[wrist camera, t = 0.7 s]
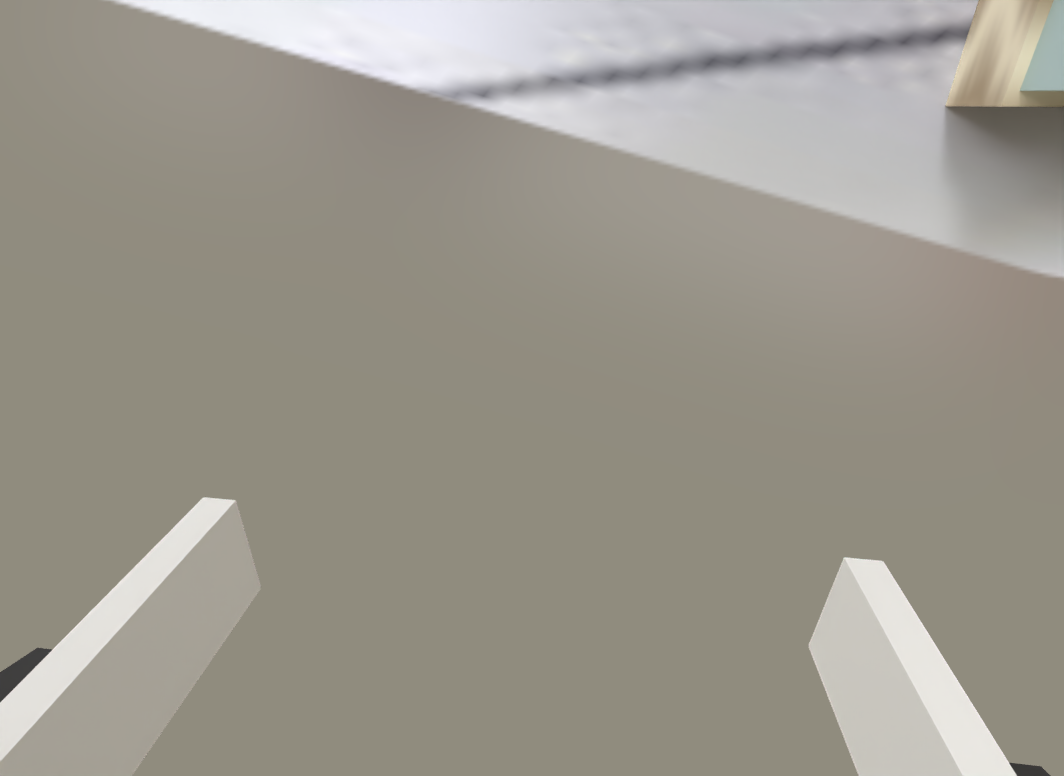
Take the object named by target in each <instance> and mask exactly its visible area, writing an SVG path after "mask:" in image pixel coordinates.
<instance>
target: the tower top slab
mask: <svg viewBox="0 0 1064 776" xmlns="http://www.w3.org/2000/svg"><path fill="white" fill-rule="evenodd" d="M1020 91H1064V0H1054V1H1053V3H1052V6H1051V9H1050V11H1049V14H1048V17H1047V19H1046V22H1045V25H1044V27H1043V30H1042V33H1041V35H1040V38H1039V41H1038V43H1037V46H1036V49H1035V51H1034V54H1033V57H1032V59H1031V62H1030V65H1029V67H1028V70H1027V73H1026V75H1025V78H1024V81H1023V83H1022V86H1021V89H1020Z"/></svg>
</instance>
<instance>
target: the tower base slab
mask: <svg viewBox="0 0 1064 776" xmlns="http://www.w3.org/2000/svg"><path fill="white" fill-rule="evenodd" d="M1053 1H1054V0H979V1H978V5H977V8H976V11H975V14H974V17H973V20H972V23H971V27H970V30H969V33H968V36H967V39H966V42H965V46H964V49H963V52H962V55H961V58H960V61H959V65H958V68H957V71H956V74H955V77H954V80H953V83H952V87H951V90H950V93H949V96H948V99H947V102H946V106H980V107H1064V91H1020V89H1021V86H1022V83H1023V81H1024V78H1025V75H1026V73H1027V70H1028V67H1029V65H1030V62H1031V59H1032V57H1033V54H1034V51H1035V49H1036V46H1037V43H1038V41H1039V38H1040V35H1041V33H1042V30H1043V27H1044V25H1045V22H1046V19H1047V17H1048V14H1049V11H1050V9H1051V6H1052V3H1053Z"/></svg>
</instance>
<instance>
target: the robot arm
mask: <svg viewBox="0 0 1064 776" xmlns="http://www.w3.org/2000/svg"><path fill="white" fill-rule="evenodd" d="M260 589H261V585H260V582H259V579H258V575H257V572H256V568H255V564H254V561H253V558H252V554H251V551H250V547H249V544H248V540H247V537H246V534H245V530H244V527H243V523H242V520H241V516H240V513H239V509H238V506H237V503H236V500H227V499H226V500H225V499H216V498H205V497H204V498H202V499H201V500H200V501H199V502H198V503H197V504H196V506H194V507H193V508H192V509H191V511H190V512H189V513H188V514H187V515H186V516H185V517H184V518H183V519H182V520H181V521H180V522H179V523H178V524H177V525H176V526H175V527H174V528H173V529H172V530H171V531H170V532H169V533H168V534H167V535H166V536H165V537H164V538H163V539H162V540H161V541H160V542H159V543H158V544H157V545H156V546H155V547H154V548H153V549H152V550H151V551H150V552H149V553H148V554H147V555H146V556H145V557H144V558H143V559H142V560H141V561H140V562H139V563H138V564H137V565H136V566H135V567H134V568H133V569H132V570H131V571H130V572H129V573H128V574H127V575H126V576H125V577H124V578H123V579H122V580H121V581H120V582H119V583H118V584H117V585H116V586H115V587H114V588H113V589H112V590H111V591H110V592H109V593H108V595H106V596H105V597H104V598H103V599H102V600H101V601H100V602H99V603H98V605H96V607H94V609H92V610H91V612H90V613H89V614H88V615H87V616H86V617H85V618H84V619H83V620H82V621H81V622H80V623H79V624H78V625H77V626H76V627H75V628H74V629H73V630H72V631H71V632H70V633H69V634H68V635H67V636H66V637H65V638H64V639H63V640H62V641H61V642H60V643H59V644H58V645H57V646H56V647H55V648H54V649H53V650H51V649H43V648H36V649H35V650H34V651H32V652H30V653H29V654H27V655H26V656H24V657H23V658H21V659H20V660H18V661H17V662H15V663H14V664H12V665H11V666H9V667H8V668H6V669H5V670H3V671H2V672H0V776H132V775H133V773H134V772H135V770H136V769H137V767H138V766H139V764H140V763H141V762H142V760H143V759H144V757H145V756H146V754H147V753H148V751H149V750H150V749H151V747H152V746H153V744H154V743H155V741H156V740H157V738H158V737H159V735H160V734H161V733H162V731H163V730H164V728H165V727H166V725H167V724H168V722H169V721H170V719H171V718H172V717H173V715H174V714H175V712H176V711H177V709H178V708H179V706H180V705H181V703H182V702H183V701H184V699H185V697H186V696H187V695H188V693H189V692H190V690H191V689H192V687H193V686H194V685H195V683H196V682H197V680H198V679H199V677H200V676H201V674H202V673H203V672H204V670H205V669H206V667H207V666H208V664H209V663H210V661H211V660H212V658H213V657H214V655H215V654H216V652H217V651H218V650H219V648H220V647H221V645H222V644H223V642H224V641H225V640H226V638H227V637H228V635H229V634H230V632H231V631H232V629H233V628H234V626H235V625H236V623H237V622H238V621H239V619H240V618H241V616H242V615H243V613H244V612H245V610H246V609H247V607H248V606H249V604H250V603H251V602H252V600H253V599H254V597H255V596H256V594H257V593H258V592H259V590H260ZM808 647H809V649H810V652H811V654H812V657H813V659H814V662H815V665H816V667H817V670H818V672H819V675H820V677H821V680H822V683H823V685H824V688H825V690H826V693H827V695H828V698H829V701H830V703H831V706H832V708H833V711H834V713H835V716H836V719H837V721H838V724H839V726H840V728H841V731H842V734H843V736H844V739H845V742H846V744H847V746H848V749H849V752H850V754H851V757H852V760H853V762H854V765H855V767H856V770H857V772H858V775H859V776H1050V775H1049V774H1048V773H1047V772H1046V771H1045V770H1044V769H1043V768H1042V767H1040V766H1031V765H1023V764H1015V763H1009V762H1008V761H1007V759H1006V758H1005V756H1004V754H1003V753H1002V751H1001V750H1000V748H999V746H998V745H997V743H996V741H995V740H994V738H993V737H992V735H991V734H990V732H989V730H988V729H987V727H986V725H985V724H984V722H983V721H982V719H981V717H980V716H979V714H978V713H977V711H976V709H975V708H974V706H973V705H972V703H971V701H970V700H969V698H968V697H967V695H966V693H965V692H964V690H963V689H962V687H961V685H960V684H959V682H958V681H957V679H956V677H955V676H954V674H953V672H952V671H951V669H950V668H949V666H948V665H947V663H946V661H945V660H944V658H943V657H942V655H941V653H940V652H939V650H938V648H937V647H936V645H935V644H934V642H933V641H932V639H931V637H930V636H929V634H928V633H927V631H926V629H925V628H924V626H923V624H922V623H921V621H920V620H919V618H918V616H917V615H916V613H915V612H914V610H913V608H912V607H911V605H910V604H909V602H908V601H907V599H906V597H905V596H904V594H903V592H902V591H901V589H900V587H899V586H898V584H897V583H896V581H895V580H894V578H893V576H892V575H891V573H890V572H889V570H888V568H887V567H886V565H885V563H884V562H883V561H877V560H866V559H855V558H845V557H844V559H843V561H842V564H841V566H840V569H839V571H838V574H837V576H836V579H835V581H834V584H833V586H832V588H831V591H830V593H829V596H828V598H827V601H826V603H825V606H824V608H823V611H822V613H821V616H820V618H819V621H818V623H817V626H816V628H815V631H814V633H813V635H812V638H811V640H810V643H809V645H808Z"/></svg>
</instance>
